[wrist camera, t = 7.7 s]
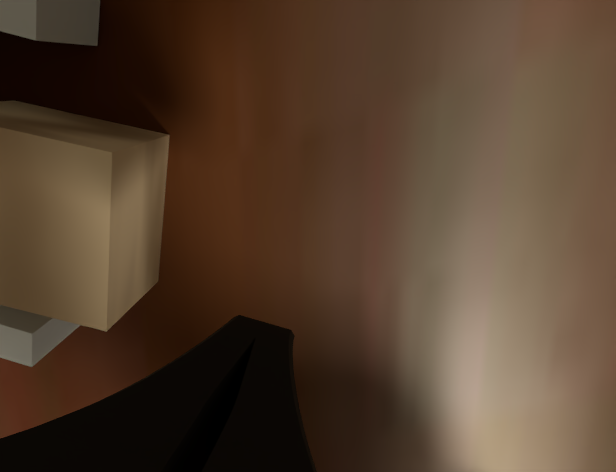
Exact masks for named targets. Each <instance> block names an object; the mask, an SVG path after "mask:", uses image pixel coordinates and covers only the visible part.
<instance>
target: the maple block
mask: <svg viewBox="0 0 616 472" xmlns="http://www.w3.org/2000/svg"><path fill="white" fill-rule="evenodd" d="M168 148H169V135H168V134H164V133H159V132H155V131H150V130H146V129H141V128H136V127H132V126H127V125H123V124H118V123H114V122H109V121H105V120H100V119H96V118H91V117H87V116H82V115H78V114H73V113H69V112H64V111H60V110H55V109H51V108H46V107H42V106H37V105H33V104H28V103H24V102H19V101H15V100H13V101H0V305H3V306H7V307H11V308H15V309H19V310H23V311H27V312H31V313H35V314H39V315H43V316H47V317H51V318H55V319H59V320H63V321H67V322H71V323H75V324H79V325H82V326H86V327H90V328H94V329H98V330H102V331H106V332H107V331H108V330H109V329H110V328H111V327H112V326H113V325H114V324H115V323H116V322H117V321H118V320H119V319H120V318H121V317H122V316H123V315H124V314H125V313H126V312H127V311H128V310H129V309H130V308H131V307H132V306H133V305H134V304H135V303H136V302H137V301H139V300H140V299H141V298H142V297H143V296H144V295H145V294H146V293H147V292H148V291H149V290H150V289H151V288H152V287H153V286H154V285H155V284H156V283H157V282H158V278H159V265H160V252H161V239H162V226H163V213H164V200H165V187H166V174H167V161H168Z"/></svg>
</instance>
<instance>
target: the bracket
mask: <svg viewBox="0 0 616 472" xmlns="http://www.w3.org/2000/svg"><path fill="white" fill-rule="evenodd" d="M99 12H100V0H0V31H2V32H5V33H9V34H13V35H17V36H21V37H24V38H28V39H32V40H36V41H46V42H57V43H69V44H80V45H91V46H98V29H99ZM79 326H80V325H79V324H75V323H71V322H67V321H63V320H59V319H55V318H51V317H47V316H43V315H39V314H35V313H31V312H27V311H23V310H19V309H15V308H11V307H7V306H3V305H0V358H4V359H7V360H10V361H14V362H17V363H20V364H24V365H27V366H30V367H32V366H34V365H35V364H36V363H37V362H38V361H39V360H41V359H42V358H43V357H44V356H45V355H46V354H48V353H49V352H50V351H51V350H52V349H53V348H55V347H56V346H57V345H58V344H59V343H60V342H62V341H63V340H64V339H65V338H66V337H67V336H68V335H70V334H71V333H72V332H73V331H74V330H75V329H77V328H78V327H79Z"/></svg>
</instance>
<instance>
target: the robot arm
mask: <svg viewBox="0 0 616 472" xmlns="http://www.w3.org/2000/svg"><path fill="white" fill-rule="evenodd" d="M293 340H294V334H293V333H292V331H291V330H289V329H285V328H282V327H279V326H275V325H272V324H268V323H265V322H261V321H258V320H255V319H251V318H248V317H244V316H241V315H238V316H236V317H234V318H233V319H231V320H230V321H229V322H228V323H226V324H225V325H224V326H223V327H221V328H220V329H219V330H217V331H216V332H215V333H213V334H212V335H211V336H209V337H208V338H206V339H205V340H204V341H202V342H201V343H199V344H198V345H196V346H195V347H194V348H192V349H191V350H189V351H188V352H186V353H185V354H183V355H182V356H180V357H179V358H177V359H176V360H174V361H172V362H171V363H169V364H167V365H166V366H164V367H162V368H161V369H159V370H157V371H155V372H154V373H152V374H150V375H149V376H147V377H145V378H144V379H142V380H140V381H138V382H136V383H134V384H133V385H131V386H129V387H127V388H125V389H123V390H121V391H119V392H117V393H115V394H113V395H111V396H109V397H107V398H104V399H102V400H100V401H98V402H96V403H94V404H92V405H89V406H87V407H84V408H82V409H80V410H77V411H75V412H72V413H70V414H67V415H65V416H62V417H59V418H57V419H54V420H52V421H49V422H47V423H44V424H42V425H39V426H36V427H34V428H31V429H28V430H25V431H22V432H19V433H16V434H13V435H10V436H7V437H4V438H1V439H0V472H317V471H316V468H315V465H314V462H313V459H312V456H311V453H310V449H309V446H308V443H307V439H306V435H305V431H304V427H303V423H302V419H301V414H300V410H299V405H298V399H297V393H296V386H295V380H294V371H293Z"/></svg>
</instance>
